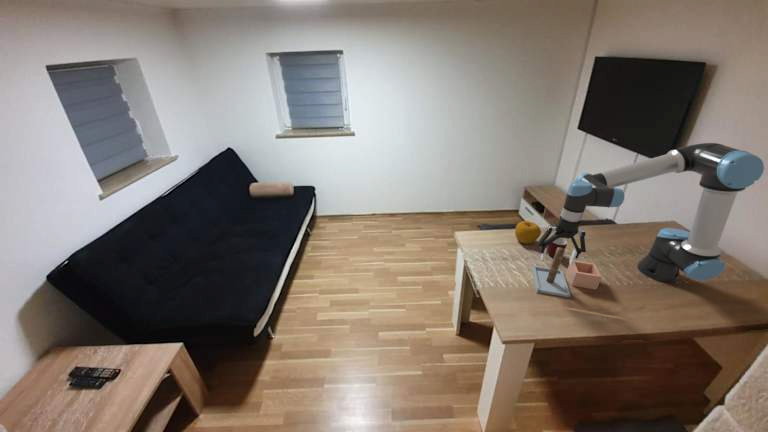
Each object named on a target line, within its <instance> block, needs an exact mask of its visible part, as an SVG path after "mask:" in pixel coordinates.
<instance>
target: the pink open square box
mask: <svg viewBox="0 0 768 432" xmlns="http://www.w3.org/2000/svg"><path fill="white" fill-rule="evenodd" d="M566 274H567V277H568V279H569V282H570V285H571V286H573V287H579V288H585V289H588V290H589V289H590V290H597V289H598V287H599V286H600V285H599V284H600V282H601V280H602V274H601V273H600V271H599V268H598V266H597V265H596V263H594V262H589V261H588V262H587V261H583V260H582V261H581V260H576V259H575V260H574V263H573V265H570V263H569V264H568V267H567V269H566Z"/></svg>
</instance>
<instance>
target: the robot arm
mask: <svg viewBox="0 0 768 432" xmlns="http://www.w3.org/2000/svg"><path fill="white" fill-rule="evenodd" d="M764 170H765V164H764V162H763V160H762V159H761V158H760V157H759V156H757V155H755V154H752V153H751V152H749V151H746V150H741V149H737V148H734V147H730V146H727V145H725V144H722V143H717V142H716V143H715V142H704V143H703V142H702V143H695V144H691V145H686V146H682V147H678V148H675V149H671V150H669V151H668V152H667V153H666V154H663V155H659V156H655V157H652V158H648V159H644V160H642V161H638V162H635V163H630V164H628V165H627V164H626V165H623V166H619V167H617V168H613V169H609V170H607V171H606V170H605V171H603V172H598V173H594V174H592V173H588V172H587V173H586V172H583V173H581V174H579V175H577V177H576V178H575V180H573V181H571V183H570V185H569V186H568V189H567V191H566V196H565V199H564V203H563V206H562V208H561V212H560V216H559V218H558V222H557V225H556V226H552V225H548V227H547V229H546V231H545V232H544V234H543V235H542V236H541V237H539V240H538V241H537V244H538V246H539V247H540V254H541V255H540V260H541V261H542V262H544V261H545V257H546V254H547V252H548V245H550V244H551V243H552V242H554V241H555V240H556V239H559V238H563V239H568V240H569V239H570V240H571V242H572V243H573V246H574V248H575V249H574V248H573V250H572V252H571V256H570V258H569V261H568V262H569V264H570V265H573V263H574V260H575V261H576V259H578V258H579V256H580V255H581V254H582V253H586V252H587V250H586V241H585V240H586V238H585V236H586V234H587V233H586V231H585V230H584V229H581V230H580V229H579V227H580V224H581V221H582V219H583V216H584V213H585V210H586V208H587V207H595V208H596V207H599V208H602V207H603V208H619V207H621V205H623V203H624V201H625V192H624V190H623V189H621V188H619V187H620V186H625V185H628V184H632V183H635V182H640V181H643V180H647V179H650V178H654V177H658V176H662V175H667V174H670V173H675V174H680V173H685V172H694V173H697V174H699V175H701V177H700V181H699V184H698V185H699V186H700V188H701V189H703V190H702V193H701V197H700V199H699V202H698V206H697V208H696V212H695V214H694V215H695V216H694V217H693V221H692V225H691V227H690V228H691V229H690V231H687V230H684V229H679V228H671V227H667V228H666V227H665V228H661V230H659V232H658V233H657V235H656V237H655V239H654V241H653V243H652V245H651V248H650V249H649V251H648V254H646V255H645V256H643V258H642V259H640V260H639V262H638V264H637V270H639V272H640V273H641V274H643V275H644V276H646V277H648V278H650V279H653V280H656V281H658V282H663V283H674V282H676V281H678V279H679V278H680V272H682V273H683V274H684V275H686V276H687V277H689V278H690V279H693V280H696V281H706V280H707V281H708V280H711V279H714V278H715V277H718V276H719V275H721V274H722V273H723V272H724V271H725V269H726V265H725V263H724V261H723V260H721V259H720V257H721V255H722V249H721V247H720V246H719V243H720V241H721V239H722V238H721V237H722V235H723V233H724V231H725V227H726V225H727V222H728V219H729V217H730V216H729V215H730V213H731V211H732V208H733V205H734V203H735V201H736V197H737V195H738V193H740V192H743V191H745V190H746V188H748V187H750V186H752V185H755V181H758V180H760V178H761V177H762V175H763V174H764ZM617 187H618V188H617ZM554 231H555V232H554ZM552 233H553V235H551V234H552ZM577 234H578V235H579V242H580V247H579V245H578V243H577V241H576V239H575V237H574V236H576V235H577Z"/></svg>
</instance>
